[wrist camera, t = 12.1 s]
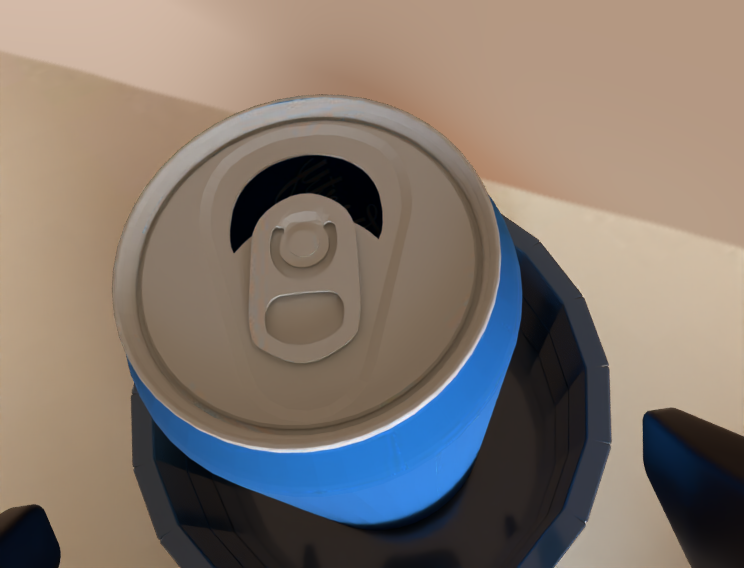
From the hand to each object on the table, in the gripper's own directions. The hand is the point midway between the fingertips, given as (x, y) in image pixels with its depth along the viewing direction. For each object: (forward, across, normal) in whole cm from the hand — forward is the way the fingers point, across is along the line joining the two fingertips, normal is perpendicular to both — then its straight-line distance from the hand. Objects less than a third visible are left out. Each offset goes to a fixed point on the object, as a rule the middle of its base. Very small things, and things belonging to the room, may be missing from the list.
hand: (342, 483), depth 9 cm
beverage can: (+10, 0, +5) cm, 11 cm away
